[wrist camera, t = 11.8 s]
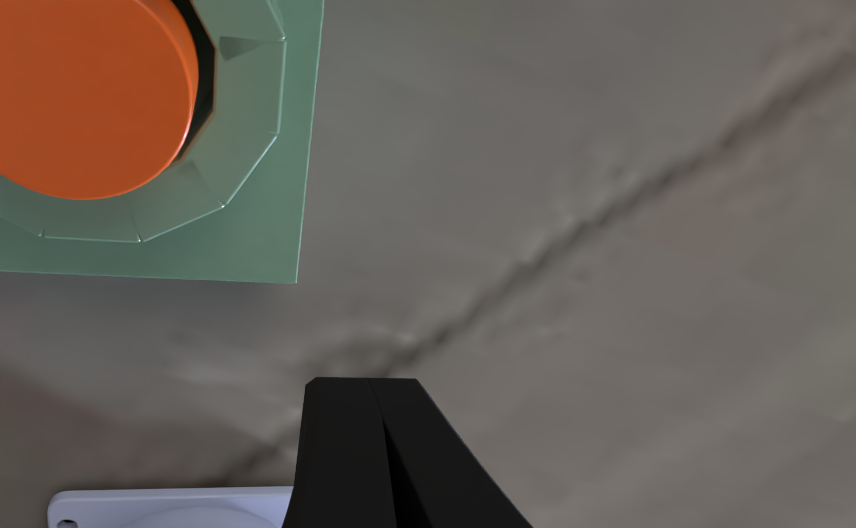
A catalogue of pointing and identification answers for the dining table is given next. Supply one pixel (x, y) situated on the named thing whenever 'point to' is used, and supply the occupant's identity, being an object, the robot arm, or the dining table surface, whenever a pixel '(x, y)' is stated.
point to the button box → (201, 166)
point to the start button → (93, 93)
